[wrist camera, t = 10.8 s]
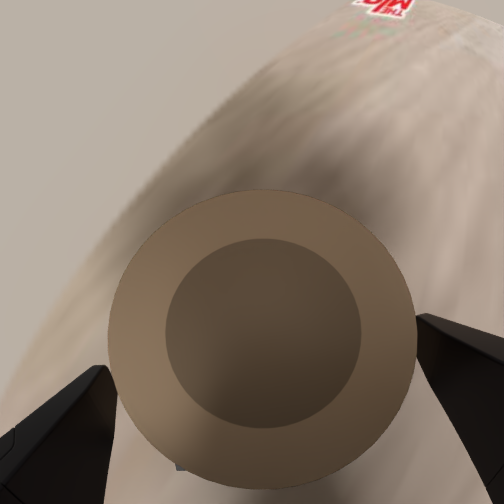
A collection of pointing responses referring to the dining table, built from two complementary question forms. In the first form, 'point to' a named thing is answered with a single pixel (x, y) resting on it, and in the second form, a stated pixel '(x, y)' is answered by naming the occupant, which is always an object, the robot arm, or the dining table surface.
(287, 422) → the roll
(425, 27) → the dining table surface
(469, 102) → the dining table surface
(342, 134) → the dining table surface
